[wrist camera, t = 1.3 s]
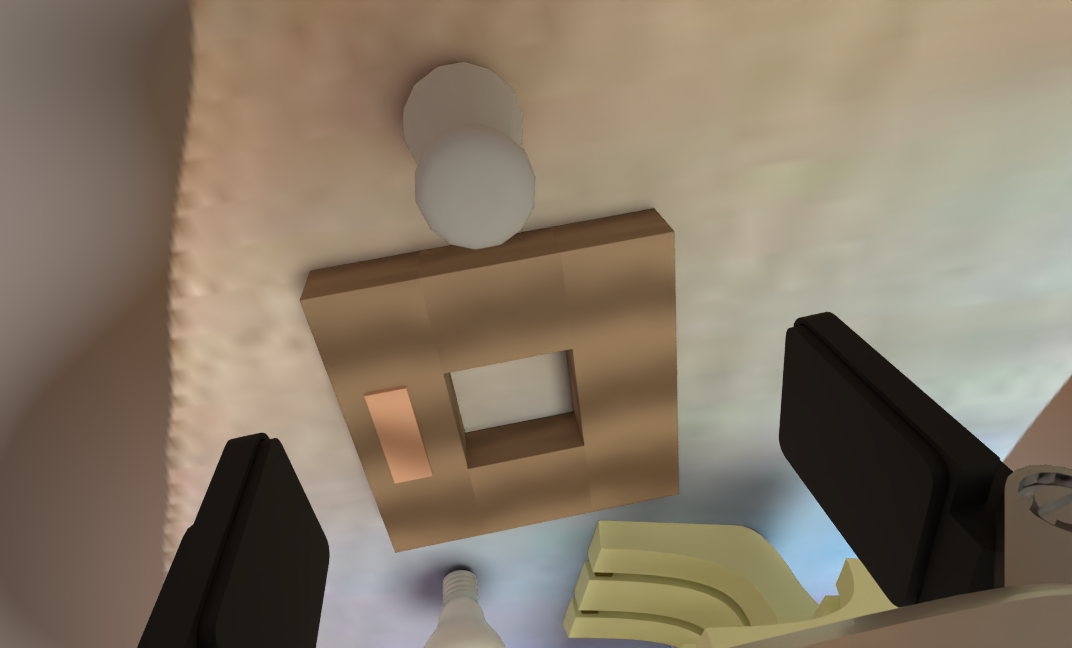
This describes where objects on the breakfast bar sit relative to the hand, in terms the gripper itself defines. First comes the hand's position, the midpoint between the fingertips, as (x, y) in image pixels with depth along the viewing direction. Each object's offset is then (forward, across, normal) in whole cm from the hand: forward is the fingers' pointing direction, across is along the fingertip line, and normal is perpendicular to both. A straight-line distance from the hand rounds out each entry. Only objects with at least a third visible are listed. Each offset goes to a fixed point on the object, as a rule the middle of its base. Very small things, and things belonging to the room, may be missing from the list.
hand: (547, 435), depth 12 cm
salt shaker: (+25, 0, -1) cm, 25 cm away
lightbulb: (+26, +8, +34) cm, 43 cm away
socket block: (+25, 0, +16) cm, 30 cm away
